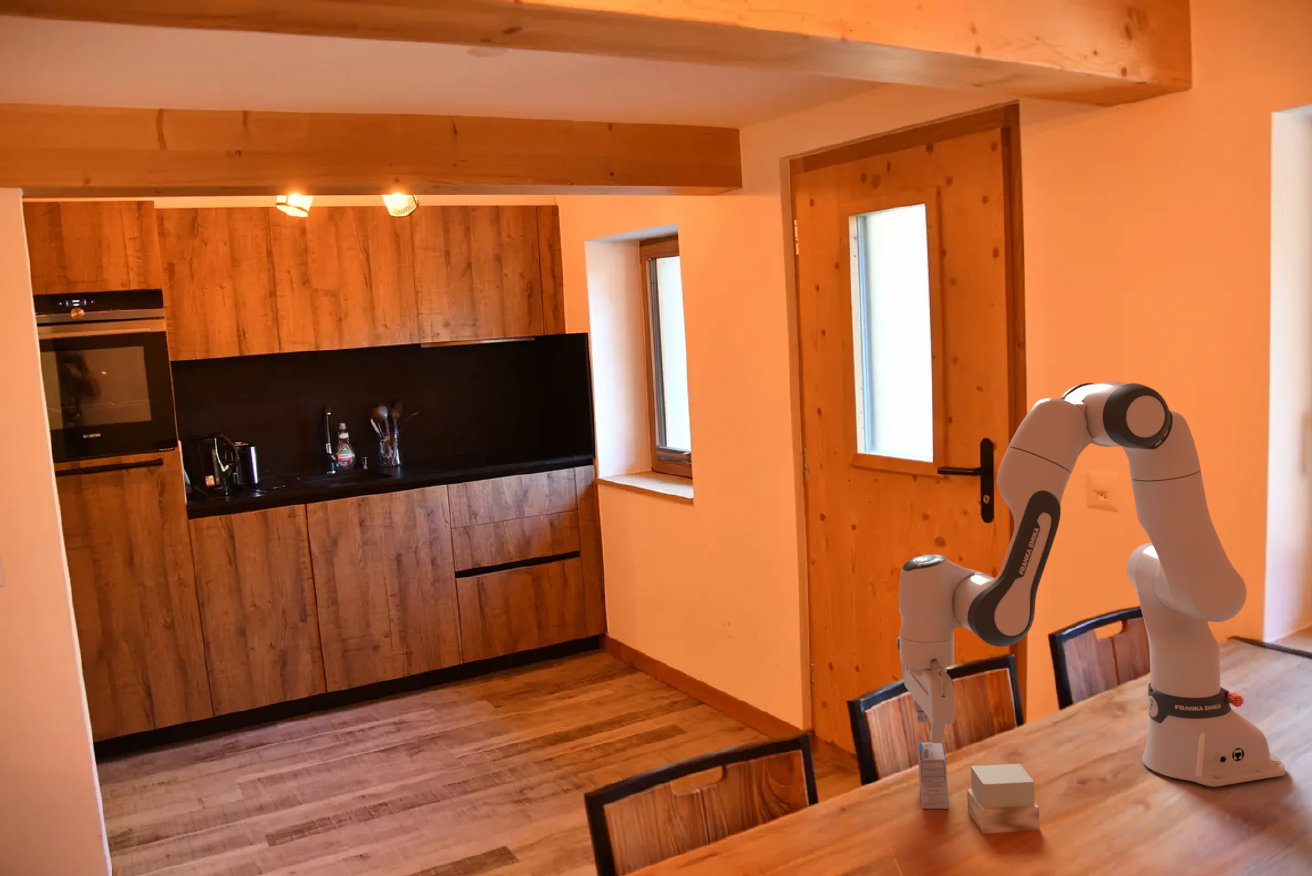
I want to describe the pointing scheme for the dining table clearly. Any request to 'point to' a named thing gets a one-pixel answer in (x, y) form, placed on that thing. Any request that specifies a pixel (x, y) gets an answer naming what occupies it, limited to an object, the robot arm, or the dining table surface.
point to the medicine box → (933, 775)
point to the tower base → (1002, 816)
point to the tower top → (1002, 786)
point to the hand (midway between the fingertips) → (928, 731)
